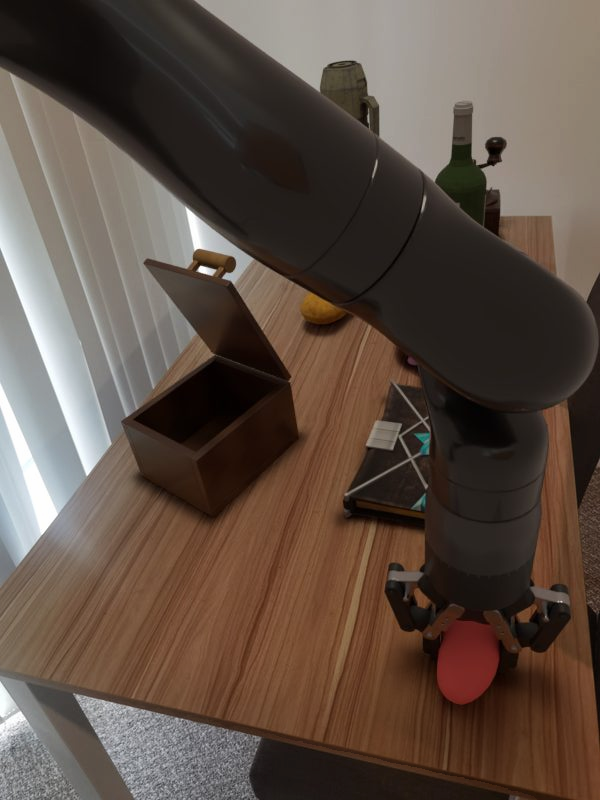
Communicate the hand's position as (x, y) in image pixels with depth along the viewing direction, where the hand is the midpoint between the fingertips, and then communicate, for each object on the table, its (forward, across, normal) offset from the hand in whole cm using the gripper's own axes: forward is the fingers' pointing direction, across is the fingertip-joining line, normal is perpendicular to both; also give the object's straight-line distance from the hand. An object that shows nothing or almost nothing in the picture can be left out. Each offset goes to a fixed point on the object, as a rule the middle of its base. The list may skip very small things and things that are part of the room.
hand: (468, 656), depth 52 cm
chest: (0, -31, +22) cm, 38 cm away
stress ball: (+1, 0, 0) cm, 1 cm away
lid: (-17, -29, +26) cm, 43 cm away
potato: (+1, -24, +58) cm, 63 cm away
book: (+1, -4, +24) cm, 24 cm away
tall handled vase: (+1, -23, +76) cm, 79 cm away
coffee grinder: (+1, -2, +88) cm, 88 cm away
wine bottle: (+1, -4, +67) cm, 67 cm away
